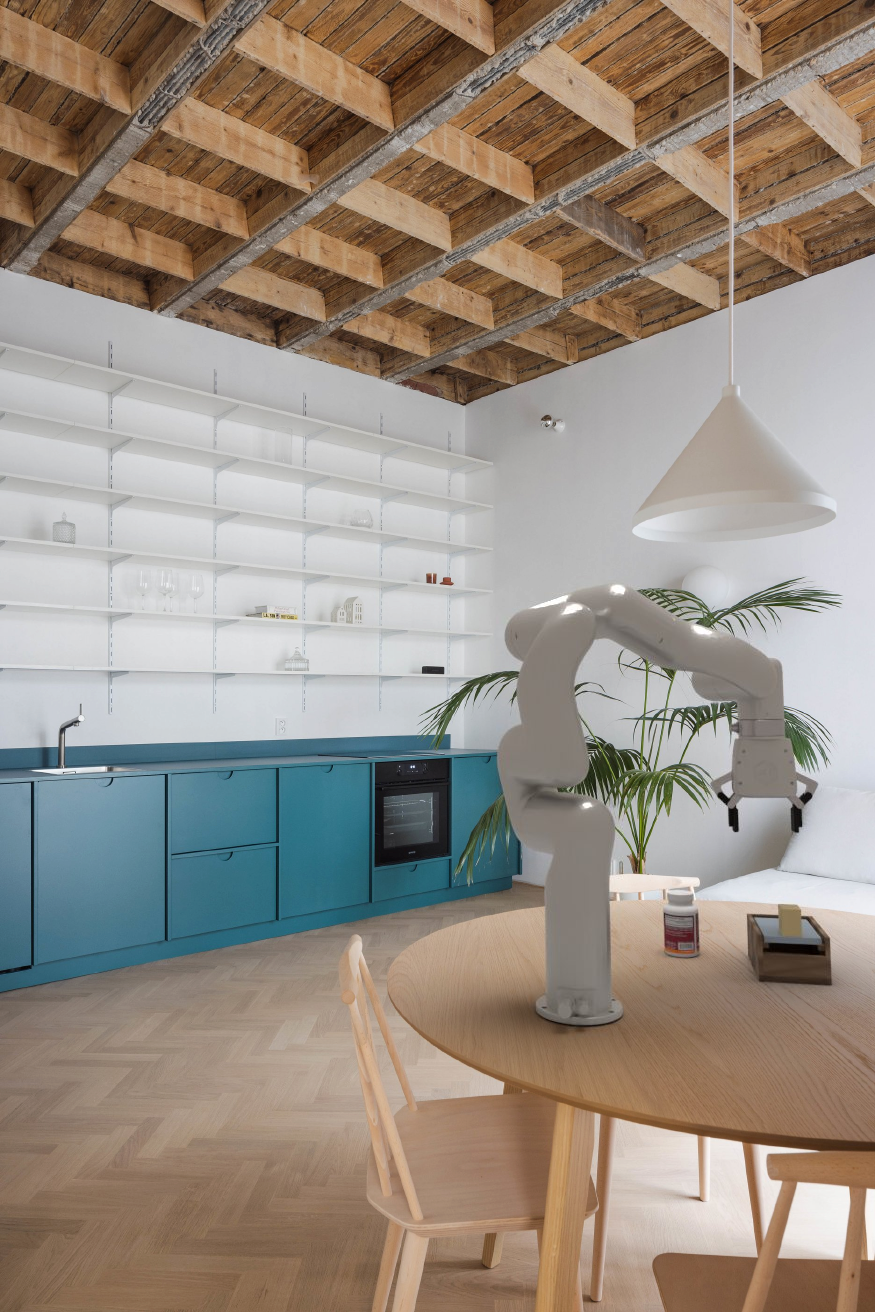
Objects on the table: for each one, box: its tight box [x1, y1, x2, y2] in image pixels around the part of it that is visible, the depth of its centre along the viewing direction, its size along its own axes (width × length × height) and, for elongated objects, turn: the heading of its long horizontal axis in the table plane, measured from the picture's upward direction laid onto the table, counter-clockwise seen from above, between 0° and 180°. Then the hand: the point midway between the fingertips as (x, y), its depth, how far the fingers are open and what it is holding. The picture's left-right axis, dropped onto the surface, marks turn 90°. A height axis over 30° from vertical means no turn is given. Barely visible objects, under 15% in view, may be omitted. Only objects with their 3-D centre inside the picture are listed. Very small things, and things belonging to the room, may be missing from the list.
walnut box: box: [746, 913, 833, 986], centre depth 153 cm, size 16×11×7 cm
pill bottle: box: [662, 889, 701, 959], centre depth 164 cm, size 6×6×11 cm
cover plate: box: [754, 903, 822, 945], centre depth 154 cm, size 14×9×5 cm, turn 167°
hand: (765, 831), depth 153 cm, fingers open, 9 cm apart
